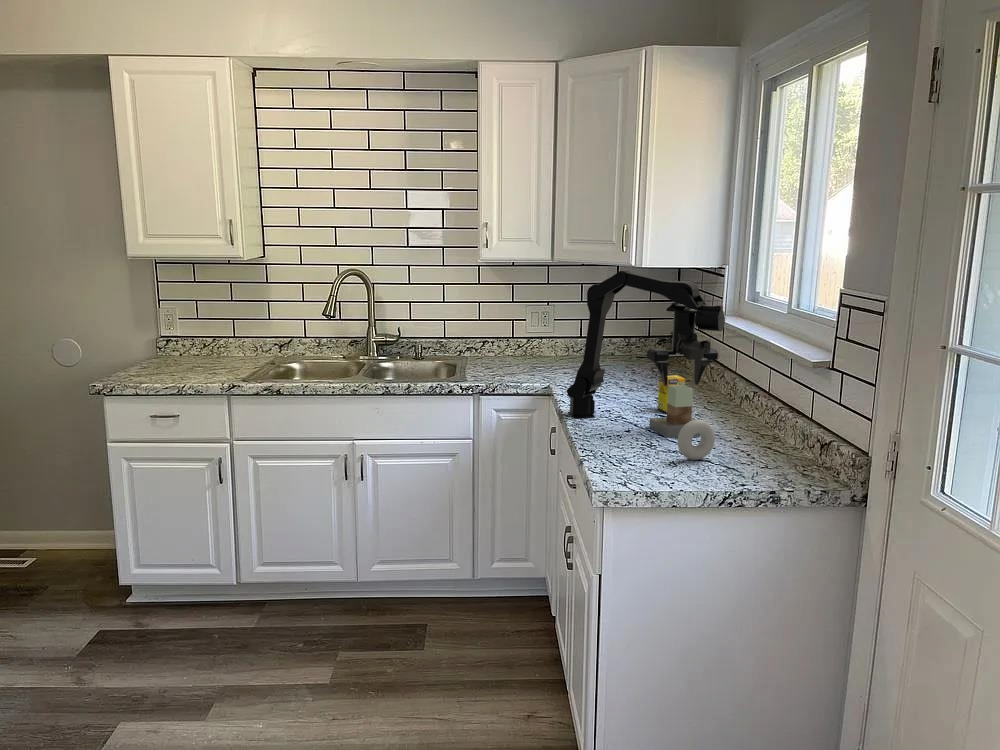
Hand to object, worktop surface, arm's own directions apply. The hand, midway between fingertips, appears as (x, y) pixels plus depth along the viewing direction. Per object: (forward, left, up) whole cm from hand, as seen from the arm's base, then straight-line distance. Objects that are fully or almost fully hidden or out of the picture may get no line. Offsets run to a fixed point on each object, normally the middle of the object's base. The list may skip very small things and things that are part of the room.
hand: (680, 385), depth 209 cm
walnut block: (0, 0, -10) cm, 11 cm away
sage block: (0, 0, -6) cm, 6 cm away
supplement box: (+8, +22, -13) cm, 27 cm away
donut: (-8, -26, -13) cm, 30 cm away
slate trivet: (0, 0, -13) cm, 13 cm away
